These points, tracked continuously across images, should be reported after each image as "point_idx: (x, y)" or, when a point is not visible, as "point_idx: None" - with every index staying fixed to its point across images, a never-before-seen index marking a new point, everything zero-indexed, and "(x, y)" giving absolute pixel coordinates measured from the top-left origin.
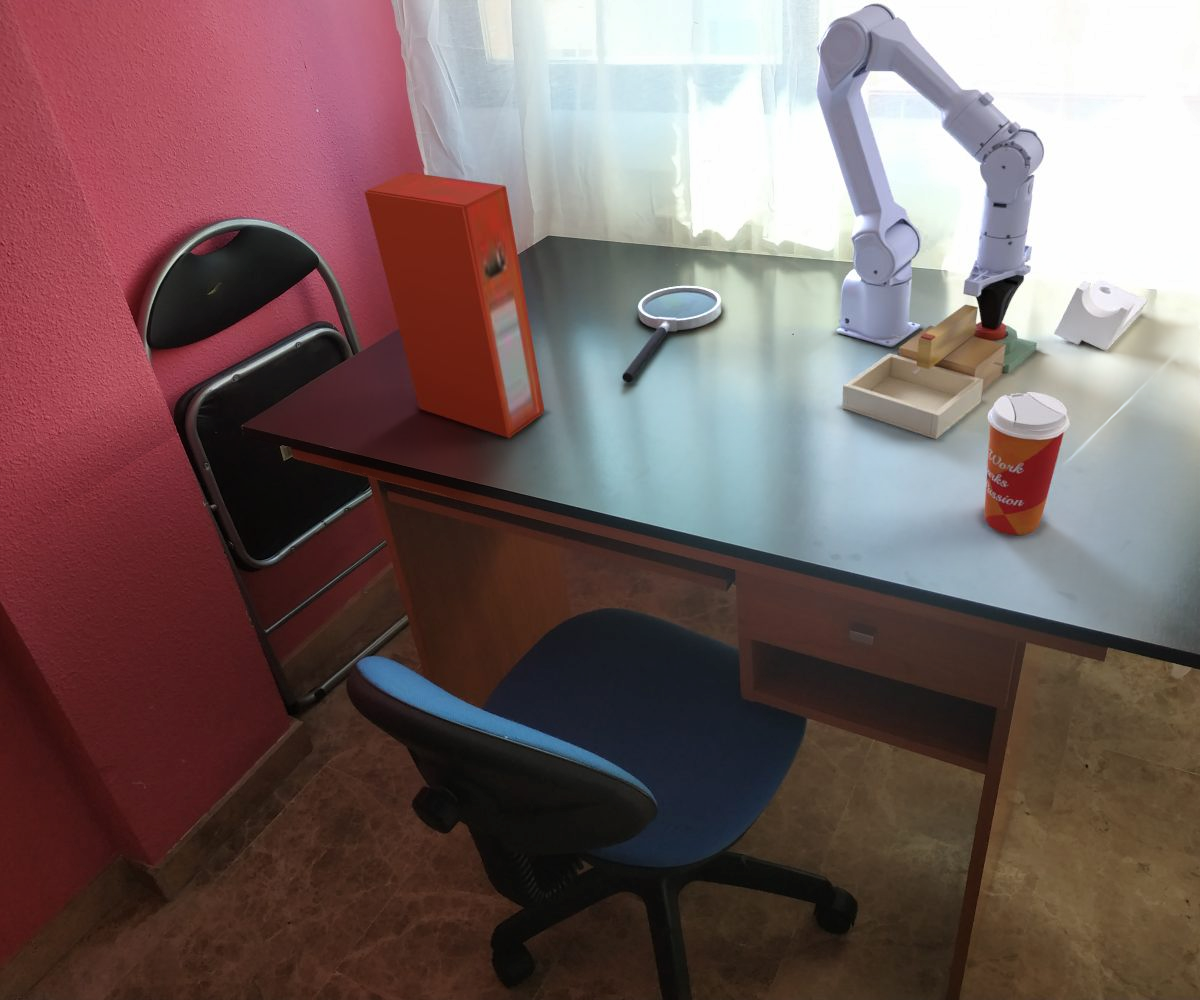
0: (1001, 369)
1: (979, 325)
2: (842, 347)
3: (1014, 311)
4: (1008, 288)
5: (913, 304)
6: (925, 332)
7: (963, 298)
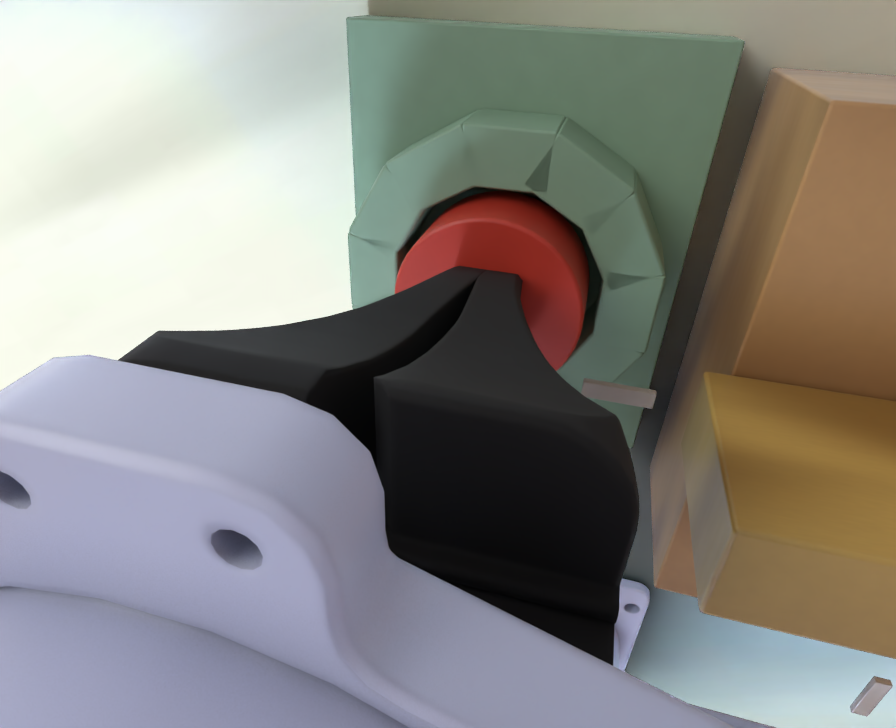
0: (795, 73)
1: None
2: (701, 697)
3: (95, 276)
4: (557, 449)
5: None
6: None
7: None
